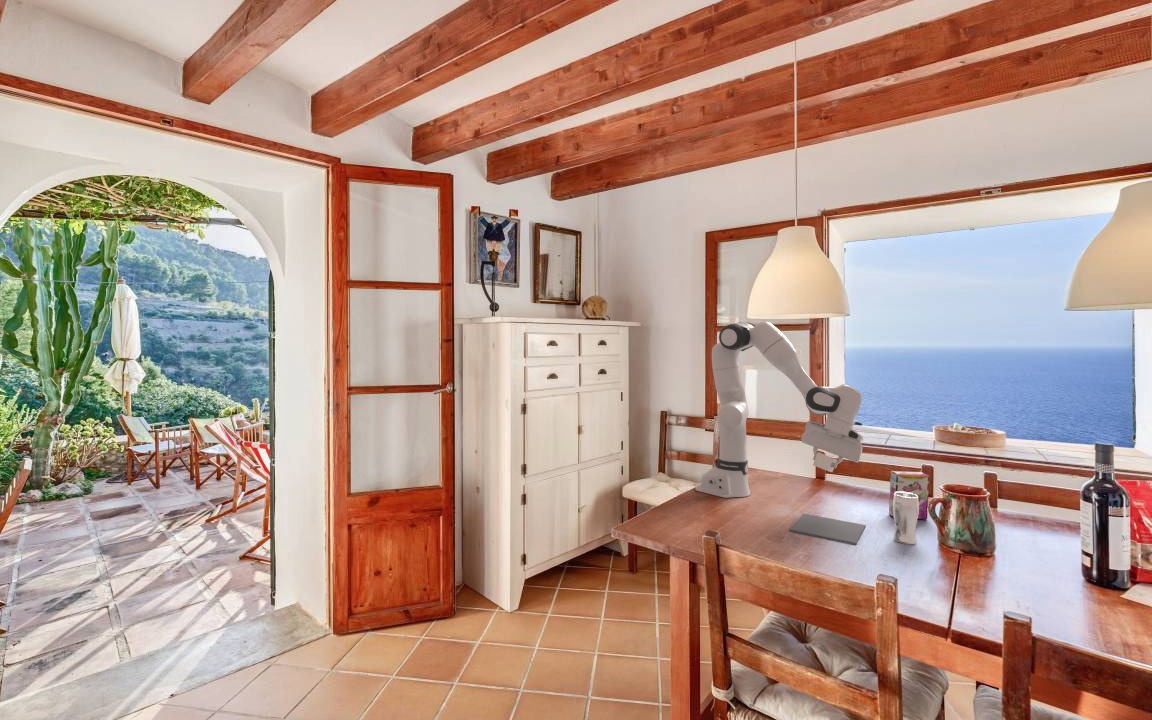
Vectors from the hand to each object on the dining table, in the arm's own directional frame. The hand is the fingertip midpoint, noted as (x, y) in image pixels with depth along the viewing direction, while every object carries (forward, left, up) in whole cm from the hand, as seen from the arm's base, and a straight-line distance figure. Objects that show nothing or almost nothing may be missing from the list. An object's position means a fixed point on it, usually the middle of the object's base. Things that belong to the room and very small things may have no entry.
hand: (824, 464), depth 189 cm
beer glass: (+26, -11, -19) cm, 34 cm away
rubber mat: (+4, -14, -19) cm, 24 cm away
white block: (0, +8, -1) cm, 8 cm away
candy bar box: (+25, +16, -19) cm, 35 cm away
